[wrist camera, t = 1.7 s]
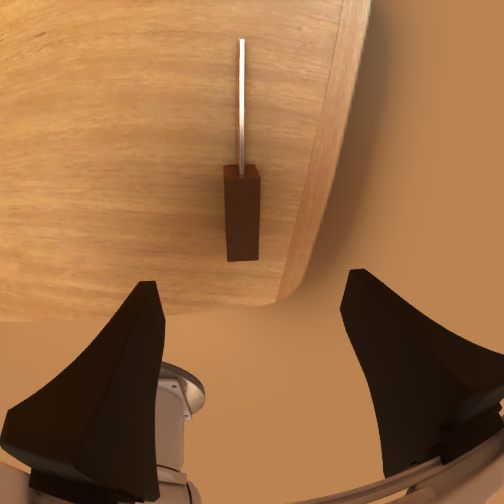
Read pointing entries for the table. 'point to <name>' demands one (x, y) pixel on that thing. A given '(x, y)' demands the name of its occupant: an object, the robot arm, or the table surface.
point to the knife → (241, 188)
